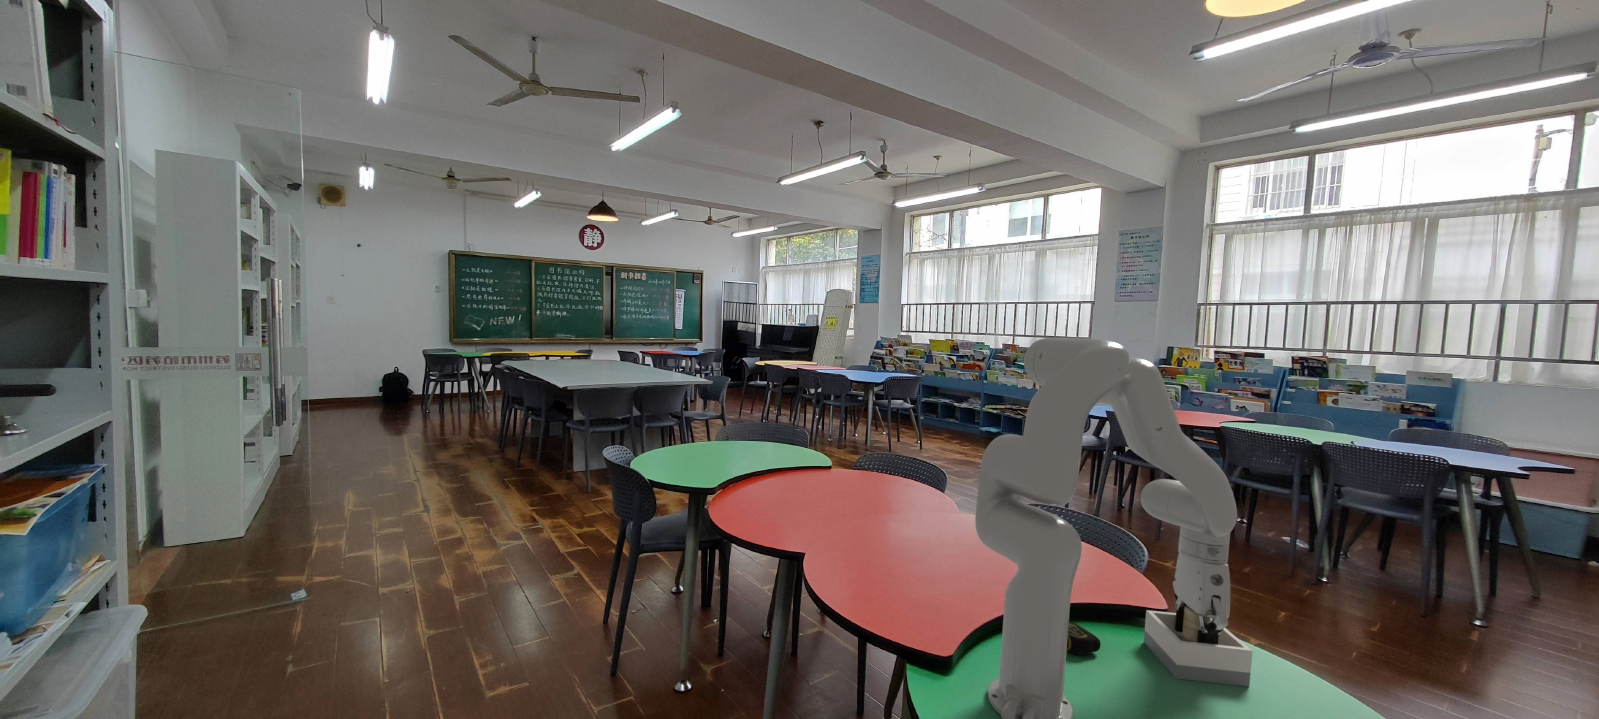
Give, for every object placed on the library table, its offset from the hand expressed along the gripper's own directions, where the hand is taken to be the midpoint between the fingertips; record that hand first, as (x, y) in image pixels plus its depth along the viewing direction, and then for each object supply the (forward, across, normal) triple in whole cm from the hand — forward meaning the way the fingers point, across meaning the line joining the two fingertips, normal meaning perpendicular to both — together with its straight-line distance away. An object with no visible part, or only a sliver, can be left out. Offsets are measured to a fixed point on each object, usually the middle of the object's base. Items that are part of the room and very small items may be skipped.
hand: (1195, 641), depth 106 cm
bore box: (+4, 0, 0) cm, 4 cm away
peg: (+4, 0, 0) cm, 4 cm away
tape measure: (+5, +1, +20) cm, 21 cm away
